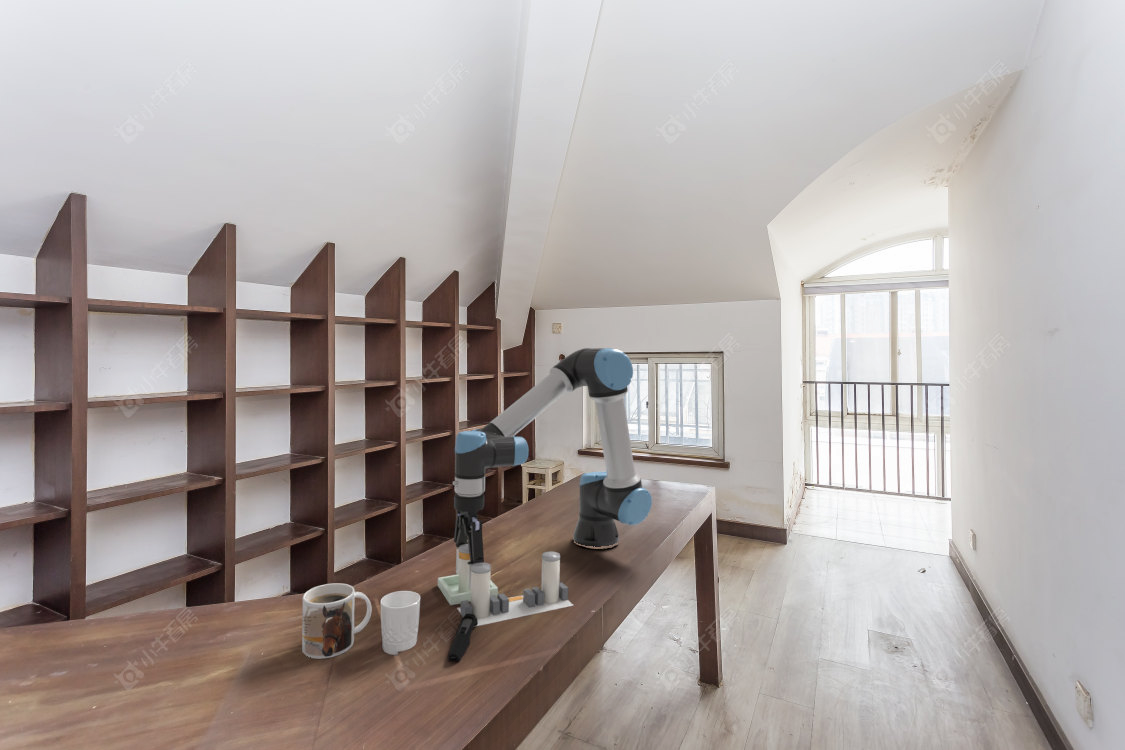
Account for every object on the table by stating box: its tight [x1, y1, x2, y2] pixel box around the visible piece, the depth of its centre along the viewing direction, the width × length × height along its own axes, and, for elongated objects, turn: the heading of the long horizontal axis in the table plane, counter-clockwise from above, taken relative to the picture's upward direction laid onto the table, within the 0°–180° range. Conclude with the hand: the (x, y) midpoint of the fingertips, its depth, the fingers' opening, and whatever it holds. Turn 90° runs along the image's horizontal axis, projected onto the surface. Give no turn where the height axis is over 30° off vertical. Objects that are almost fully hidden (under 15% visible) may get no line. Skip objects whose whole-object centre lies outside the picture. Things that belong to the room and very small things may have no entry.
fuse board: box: [456, 581, 574, 628], centre depth 128 cm, size 26×10×4 cm, turn 117°
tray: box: [437, 574, 499, 606], centre depth 136 cm, size 12×12×3 cm
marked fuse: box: [458, 544, 471, 593], centre depth 136 cm, size 4×4×11 cm
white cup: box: [380, 590, 421, 656], centre depth 111 cm, size 8×8×10 cm
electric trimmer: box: [447, 614, 478, 662], centre depth 112 cm, size 4×16×3 cm, turn 177°
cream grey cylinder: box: [540, 551, 561, 604], centre depth 132 cm, size 4×4×11 cm
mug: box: [301, 582, 372, 660], centre depth 111 cm, size 10×12×11 cm
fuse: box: [470, 562, 492, 619], centre depth 124 cm, size 4×4×11 cm
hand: (467, 580), depth 136 cm, fingers open, 10 cm apart
